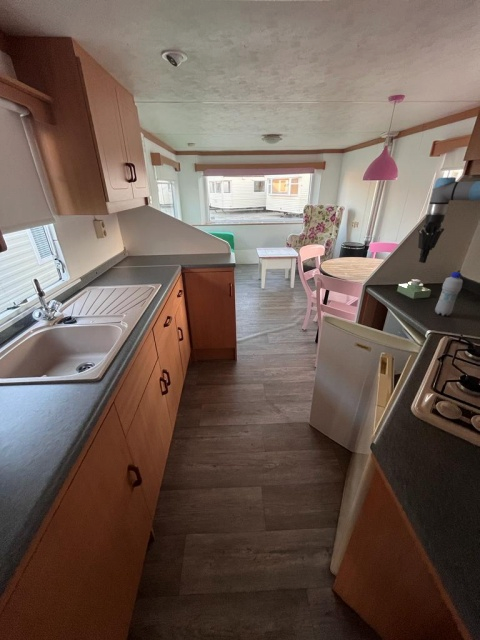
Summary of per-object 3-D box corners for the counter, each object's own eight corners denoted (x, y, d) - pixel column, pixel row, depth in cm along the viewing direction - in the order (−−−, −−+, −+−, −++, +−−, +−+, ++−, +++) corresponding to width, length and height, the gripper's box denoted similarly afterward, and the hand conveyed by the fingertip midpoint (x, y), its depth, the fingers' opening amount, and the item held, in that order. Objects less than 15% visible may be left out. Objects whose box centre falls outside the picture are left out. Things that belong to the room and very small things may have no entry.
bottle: (433, 309, 127) (446, 269, 118) (450, 312, 124) (465, 271, 115) (433, 315, 122) (448, 273, 113) (451, 318, 119) (467, 275, 110)
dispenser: (429, 297, 142) (432, 286, 139) (412, 298, 140) (416, 288, 137) (412, 289, 152) (415, 279, 150) (396, 291, 151) (399, 281, 148)
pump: (421, 285, 142) (422, 281, 141) (414, 285, 142) (416, 281, 141) (415, 283, 146) (416, 278, 145) (409, 283, 145) (410, 279, 144)
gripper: (440, 212, 132) (427, 259, 142) (418, 213, 130) (405, 261, 140) (454, 213, 125) (438, 263, 136) (430, 214, 123) (416, 264, 134)
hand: (422, 262), depth 138 cm, fingers closed
